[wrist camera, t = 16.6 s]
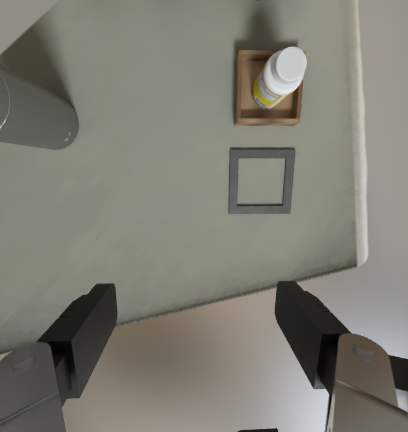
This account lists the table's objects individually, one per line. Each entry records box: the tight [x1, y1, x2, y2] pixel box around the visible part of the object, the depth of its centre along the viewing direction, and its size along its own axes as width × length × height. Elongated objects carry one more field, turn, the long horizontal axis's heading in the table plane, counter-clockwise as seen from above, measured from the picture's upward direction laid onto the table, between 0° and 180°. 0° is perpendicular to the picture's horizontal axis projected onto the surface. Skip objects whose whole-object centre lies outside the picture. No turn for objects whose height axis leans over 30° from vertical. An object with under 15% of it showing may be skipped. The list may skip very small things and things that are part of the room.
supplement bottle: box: [252, 46, 307, 109], centre depth 32 cm, size 6×6×10 cm
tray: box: [234, 50, 306, 126], centre depth 36 cm, size 11×11×3 cm
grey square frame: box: [229, 150, 295, 214], centre depth 41 cm, size 12×12×1 cm
